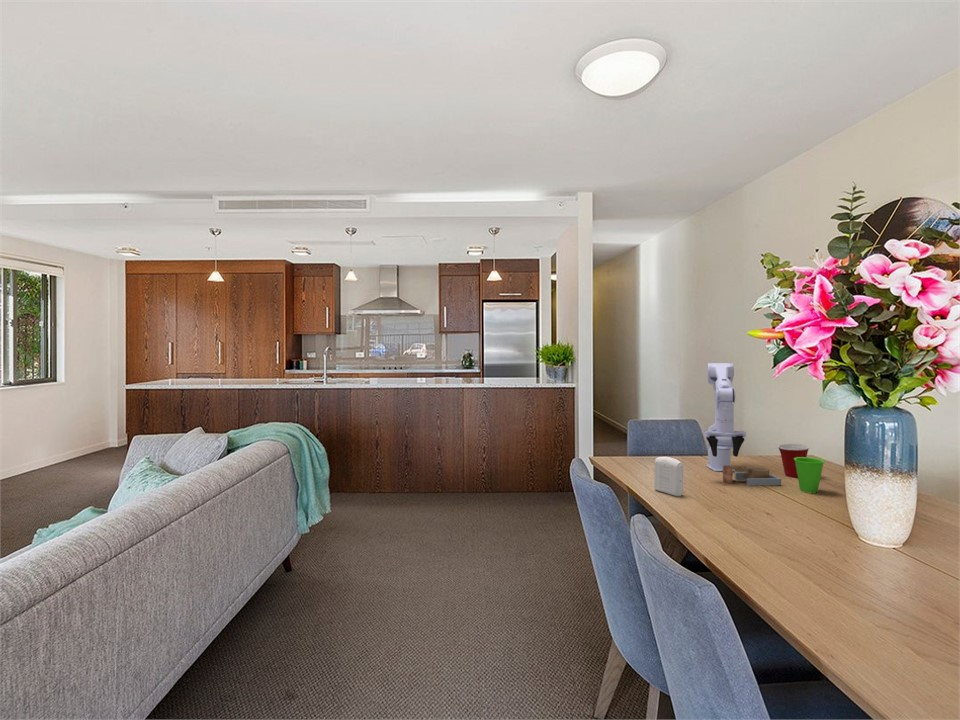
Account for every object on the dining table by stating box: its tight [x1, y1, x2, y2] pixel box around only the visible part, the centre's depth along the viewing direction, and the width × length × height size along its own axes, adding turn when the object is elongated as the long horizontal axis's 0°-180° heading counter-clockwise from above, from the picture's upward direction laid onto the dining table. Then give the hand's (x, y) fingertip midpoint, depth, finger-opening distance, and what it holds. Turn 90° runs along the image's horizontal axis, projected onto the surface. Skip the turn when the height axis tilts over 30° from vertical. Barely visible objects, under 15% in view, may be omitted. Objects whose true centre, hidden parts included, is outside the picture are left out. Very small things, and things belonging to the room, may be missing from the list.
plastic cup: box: [777, 443, 810, 479], centre depth 197 cm, size 11×11×12 cm
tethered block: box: [722, 465, 770, 484], centre depth 189 cm, size 5×16×6 cm, turn 89°
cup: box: [794, 457, 826, 494], centre depth 177 cm, size 9×9×11 cm
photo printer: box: [654, 456, 684, 497], centre depth 177 cm, size 10×4×12 cm, turn 31°
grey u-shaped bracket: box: [734, 471, 782, 487], centre depth 189 cm, size 10×12×2 cm
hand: (725, 456), depth 190 cm, fingers open, 7 cm apart
